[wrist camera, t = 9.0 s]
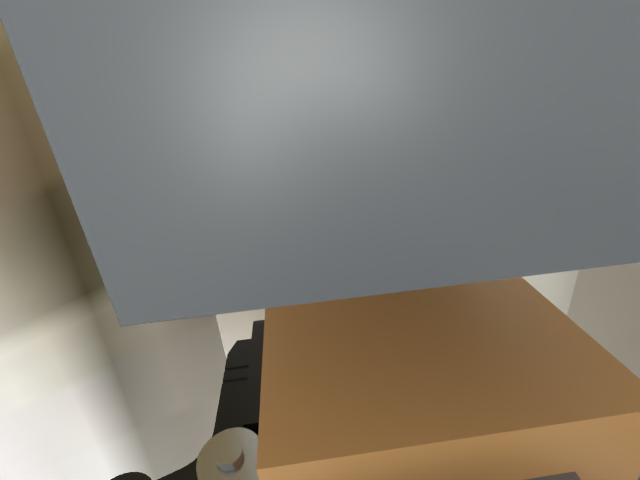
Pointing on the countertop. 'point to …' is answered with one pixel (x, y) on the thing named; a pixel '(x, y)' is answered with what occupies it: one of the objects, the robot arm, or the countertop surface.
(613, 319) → the panel
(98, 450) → the countertop surface
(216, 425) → the robot arm
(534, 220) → the block
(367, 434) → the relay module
